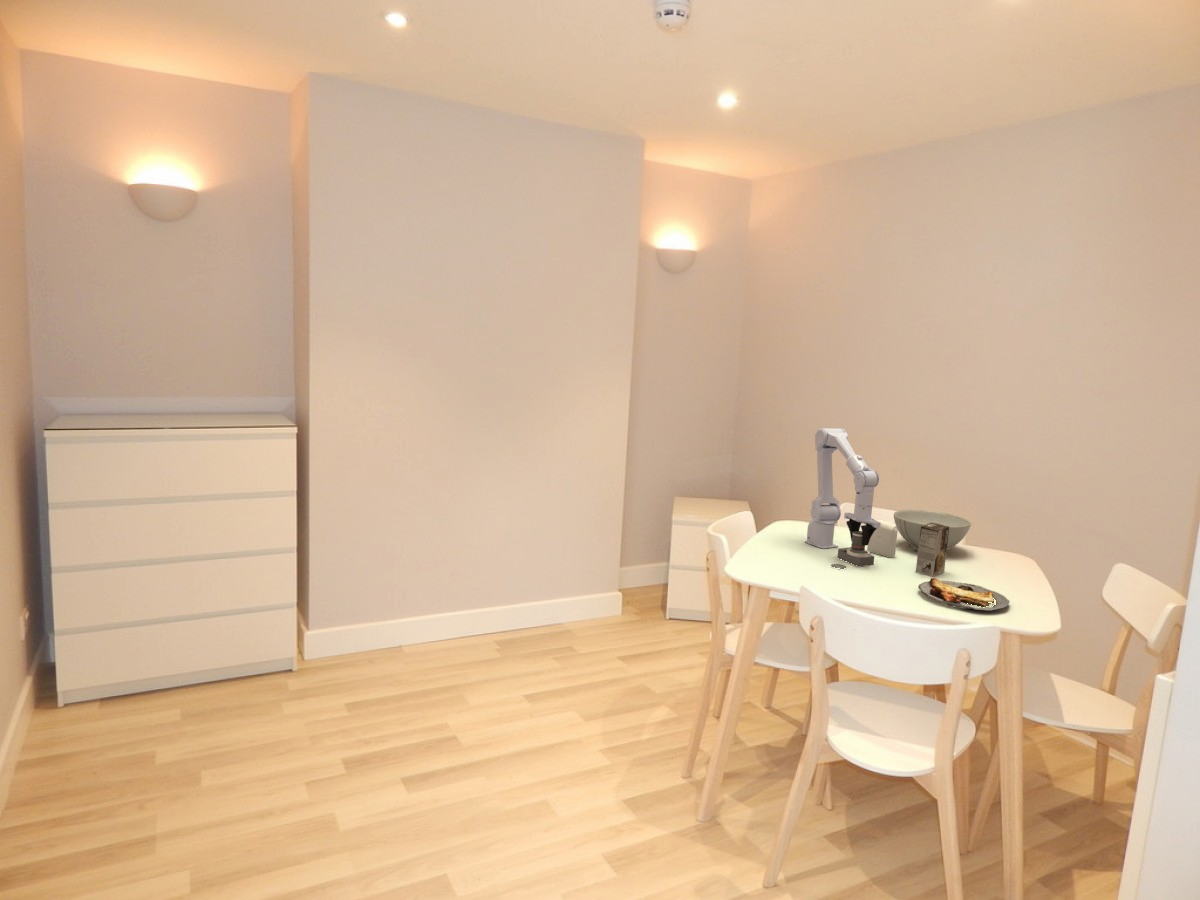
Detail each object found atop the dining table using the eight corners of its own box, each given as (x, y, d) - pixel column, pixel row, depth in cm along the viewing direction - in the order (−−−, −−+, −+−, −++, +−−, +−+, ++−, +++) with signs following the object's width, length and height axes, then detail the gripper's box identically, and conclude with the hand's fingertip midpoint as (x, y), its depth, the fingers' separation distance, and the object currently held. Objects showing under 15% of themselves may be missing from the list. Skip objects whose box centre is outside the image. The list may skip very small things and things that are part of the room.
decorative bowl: (878, 547, 291) (881, 515, 289) (907, 535, 310) (910, 506, 309) (951, 564, 273) (956, 530, 271) (977, 551, 292) (981, 520, 291)
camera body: (836, 558, 272) (837, 547, 272) (852, 556, 276) (853, 545, 275) (858, 566, 264) (859, 554, 263) (874, 564, 267) (875, 552, 267)
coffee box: (925, 567, 267) (931, 522, 265) (944, 572, 263) (950, 526, 260) (914, 572, 261) (920, 525, 258) (933, 577, 256) (939, 530, 254)
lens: (848, 547, 269) (850, 530, 268) (859, 546, 271) (861, 530, 270) (856, 551, 265) (858, 534, 264) (867, 550, 267) (869, 533, 266)
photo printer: (864, 551, 284) (868, 518, 282) (871, 549, 287) (874, 517, 285) (890, 558, 276) (894, 524, 274) (896, 556, 279) (900, 523, 277)
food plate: (910, 599, 232) (912, 588, 232) (926, 581, 252) (928, 571, 251) (1002, 622, 219) (1004, 610, 218) (1011, 601, 238) (1013, 590, 238)
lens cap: (827, 566, 263) (827, 564, 263) (838, 565, 265) (838, 563, 265) (838, 571, 259) (838, 568, 259) (849, 569, 261) (849, 567, 261)
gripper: (839, 501, 270) (835, 538, 272) (871, 510, 258) (867, 549, 260) (854, 499, 274) (850, 537, 276) (886, 509, 261) (882, 548, 263)
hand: (859, 543), depth 268 cm, fingers closed on lens, 4 cm apart
